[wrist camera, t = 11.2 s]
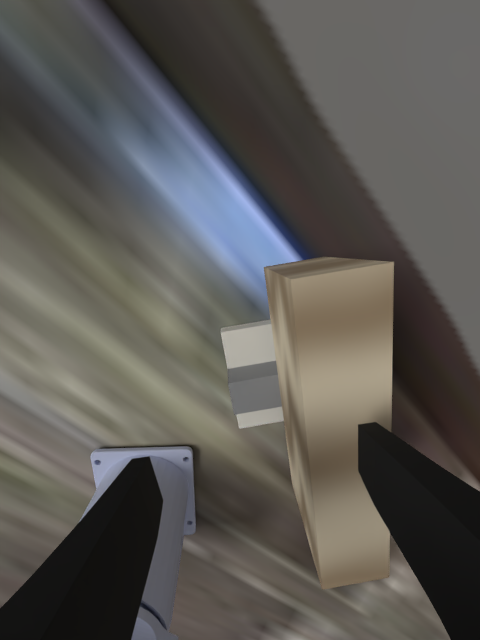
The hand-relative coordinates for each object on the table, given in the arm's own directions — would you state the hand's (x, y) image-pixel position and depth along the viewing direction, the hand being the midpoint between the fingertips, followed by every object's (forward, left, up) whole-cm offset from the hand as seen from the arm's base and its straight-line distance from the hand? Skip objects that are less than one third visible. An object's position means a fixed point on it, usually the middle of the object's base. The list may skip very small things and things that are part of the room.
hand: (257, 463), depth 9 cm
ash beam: (-1, -4, -7) cm, 9 cm away
